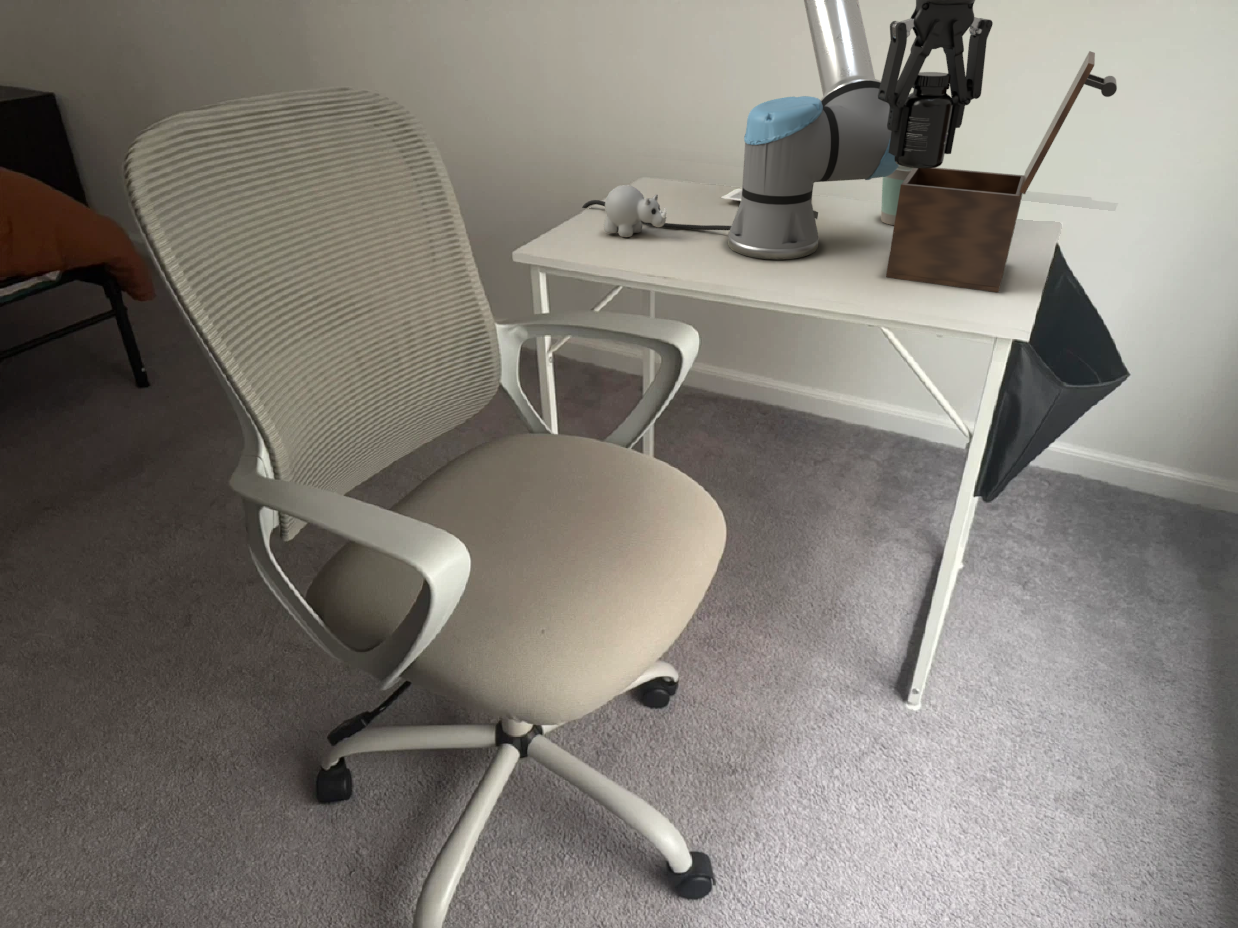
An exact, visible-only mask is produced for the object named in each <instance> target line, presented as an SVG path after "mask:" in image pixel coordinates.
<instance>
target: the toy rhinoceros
mask: <svg viewBox="0 0 1238 928" xmlns="http://www.w3.org/2000/svg"><path fill="white" fill-rule="evenodd" d="M658 198H659V195H658V194H657V193H655V194H654V195H653V197H652V198H651V197H647V198H645V197H644V195H643V193H642V192H641V190H639V189H638V188H637V187H635V186H633V185H630V184H623V185H622V184H621V185H618V186H616V187H614V188H613V189H611V191H609V192H608V194H607V196H606V198H605V201H604V202H605V206H604V211H605V214H606V215H605V216H606V217H605V219H604V222H603V231H604V233H606V234H616V233H618V235H619V236H620V237H622V238H629V237H632V236H633V234H638V233H639V234H640V233H641V232H642V231H643V223H642V222H641V221H643V222H646V223H651V224H652V225H653V227H655V228H663V227H662V226H663V225H664V224H665V223H667V222H666V221H667V209H666V207H663V210H662V209H661V205H660V203H659V202H658ZM652 225H651V226H652Z"/></svg>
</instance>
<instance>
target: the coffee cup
mask: <svg viewBox="0 0 1238 928" xmlns="http://www.w3.org/2000/svg"><path fill="white" fill-rule="evenodd" d="M912 169H913V168H909V167H904V166H900V165H899V167H898V168H897V169H896V170H895V171H894V172H893V173H892V174H891V175H889V176H886V177H882V181H881V183H882V184H881V209H880V221H881V222H882V223H884V224H886V225H891V226H894V224H895V217H896V211H897V205H898V199H899V193H900V187H901V184H902V183H903V181H904V180H905V178H906V177H907V176H908V174H909V173H910V172H911V170H912Z"/></svg>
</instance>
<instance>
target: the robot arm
mask: <svg viewBox="0 0 1238 928" xmlns="http://www.w3.org/2000/svg"><path fill="white" fill-rule="evenodd" d="M975 2H976V0H915V8H914V10H913V13H912V14H911V16H910V17H909V18H907V19H904V20H901V21H898V20H892V22H890V24H889V35H890V36H889V37H890V41H889V45H888V49H887V53H886V58H885V62H884V66H883V71H882V76H881V80H880V79H877V78H876V76H875V71H874V67H873V63H872V57H871V53H870V49H869V44H868V43H869V42H868V40H867V39H868V38H867V35H866V30H865V29H866V28H865V25H864V20H863V17H862V16H863V15H862V12H861V7H860V2H859V0H803V3H804V7H805V13H806V18H807V23H808V28H809V32H810V37H811V42H812V48H813V52H814V57H815V60H816V61H815V62H816V66H817V71H818V76H819V81H820V86H821V92H822V97H821V98H819V97H816V96H809V95H801V96H787V97H780V98H774V99H770V100H767V101H764V102H761V103H758V104H757V105H756V106H754V107H753V108H752V109H751V110H750V111H749V112H748V115H747V120H746V127H745V134H744V137H743V139H744V140H743V141H744V155H743V156H744V157H743V170H742V188H741V189H742V199H741V201H739V202H740V203H739V205H738V207H737V210H736V213H735V215H734V218H733V221H732V224H731V225H722V224H721V225H719V224H718V225H716V224H714V225H713V224H711V225H709V224H707V225H706V224H705V225H703V224H702V225H701V224H686V223H685V224H684V223H683V224H682V223H670V222H665V224H664V225H663V226H662V227H661V228H667V229H678V230H697V231H728V239H727V245H728V247H729V249H731V250H732V251H733V252H736V253H738V254H740V255H743V256H747V257H749V258H750V257H751V258H756V259H762V260H763V259H765V260H793V259H800V258H804V257H807V256H810V255H812V254H813V253H815V252H816V251H817V250H818V247H819V238H820V237H819V232H818V226H817V222H816V220H818V217H819V212H818V211H816V210H814V208H813V191H814V184H815V183H824V182H825V183H826V182H840V181H844V182H845V181H861V180H865V181H870V180H872V179H879V178H883V177H886V176H889V175H891V174H892V173H893V172H894V171H895V170H896V169H897V168H898V167H899V165H898V164H896V162H895V160H894V159H895V156H896V157H902V150H903V144H904V138H905V132H906V125H907V119H908V113H909V107H906V106H903V105H904V104H905V102H906V100H907V98H908V95H909V94H911V91H912V89H913V88H912V87H913V85H914V83H915V80H916V78H917V76H918V74H919V72H921V70H922V68H923V65H924V63H925V62H926V59H927V58H928V57H929V56H930V54H931V52H932V51H933V50H937V49H940V48H942V50H943V53H944V55H945V60H946V67H947V73H948V74H950V75H951V78H950V84H949V85H950V86H949V90H950V95H951V96H950V97H951V98H952V100H953V110H952V116H951V122H950V127H949V133H948V138H947V144H946V149H945V155H951V154H952V151H953V147H954V146H953V145H954V140H955V135H956V129H960V128H961V126H962V123H963V119H964V113H965V108H966V106H969V105H970V103H971V102H972V100H977V99H979V98H980V97H981V96H982V90H983V81H984V70H985V62H986V52H987V41H988V39H989V35H990V33H991V30H992V27H993V24H994V23H993V20H991V19H988V18H982V17H976V16H975V13H974V4H975ZM911 31H913V33H914V35H915V38H914V40H913V42H912V44H911V47H910V53H909V54H908V58H907V59H906V62H905V64H904V66H903V68H902V65H903V60H904V56H905V52H906V48H907V43H908V42H907V41H908V38H909V37H910V35H911ZM967 31H968V32H969V34H970V35H969V39H968V49H967V59H966V61H967V62H966V68H965V62H964V52H965V48H964V39H963V38H964V37H963V36H964V35H965V34H966V33H967ZM901 69H902V71H901ZM965 69H966V70H965ZM593 205H598V206H602V207H605V201H603V200H599V199H591V200H589V201H587V202H585V203H584V204H583V205H582V207H581V208H582V209H587V208H589V207H591V206H593ZM641 222H642V224H644V225H648V226H653V225H652V224H651V223H646V222H643V221H641ZM653 227H654V226H653Z"/></svg>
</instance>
